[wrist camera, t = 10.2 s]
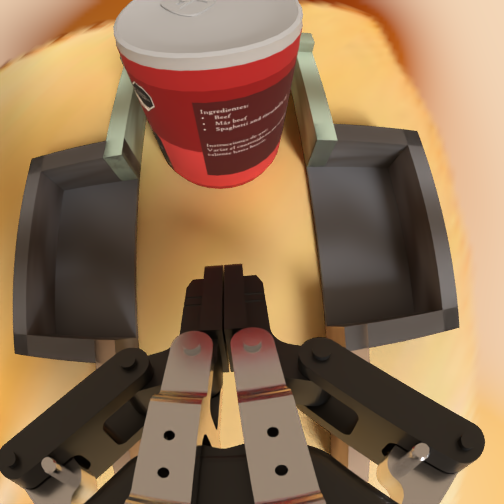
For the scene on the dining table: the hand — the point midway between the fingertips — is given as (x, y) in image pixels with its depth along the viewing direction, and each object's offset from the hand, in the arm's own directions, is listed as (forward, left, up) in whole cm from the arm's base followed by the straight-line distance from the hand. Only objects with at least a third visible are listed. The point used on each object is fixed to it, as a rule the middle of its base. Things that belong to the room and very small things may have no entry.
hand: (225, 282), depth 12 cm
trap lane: (-2, +2, -5) cm, 6 cm away
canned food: (-8, +6, -5) cm, 11 cm away
